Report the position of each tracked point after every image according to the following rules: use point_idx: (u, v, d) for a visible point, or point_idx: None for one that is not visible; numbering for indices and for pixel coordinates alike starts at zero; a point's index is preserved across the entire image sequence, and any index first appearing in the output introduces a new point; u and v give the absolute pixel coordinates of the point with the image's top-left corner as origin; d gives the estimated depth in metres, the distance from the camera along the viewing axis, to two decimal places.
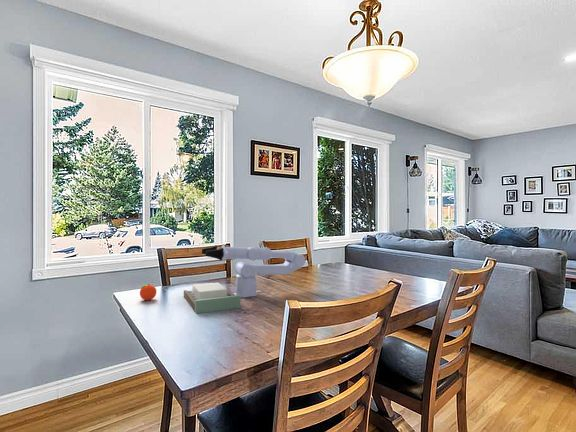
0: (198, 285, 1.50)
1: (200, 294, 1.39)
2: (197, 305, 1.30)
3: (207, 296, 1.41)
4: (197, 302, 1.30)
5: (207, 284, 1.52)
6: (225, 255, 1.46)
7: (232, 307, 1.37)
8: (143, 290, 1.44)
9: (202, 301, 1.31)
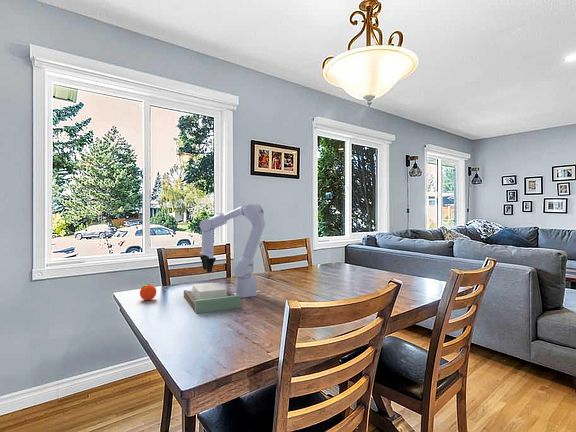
0: (198, 285, 1.50)
1: (200, 294, 1.39)
2: (197, 305, 1.30)
3: (207, 296, 1.41)
4: (197, 302, 1.30)
5: (207, 284, 1.52)
6: (211, 256, 1.57)
7: (232, 307, 1.37)
8: (143, 290, 1.44)
9: (202, 301, 1.31)
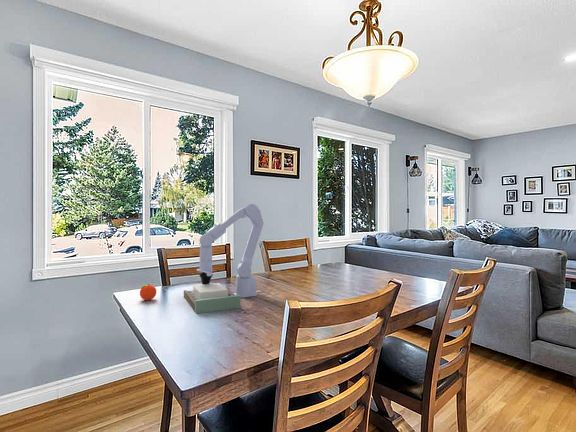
0: (199, 286, 1.49)
1: (201, 295, 1.38)
2: (197, 305, 1.30)
3: (208, 297, 1.39)
4: (197, 302, 1.30)
5: (208, 285, 1.51)
6: (210, 274, 1.48)
7: (232, 307, 1.37)
8: (143, 290, 1.44)
9: (202, 301, 1.31)
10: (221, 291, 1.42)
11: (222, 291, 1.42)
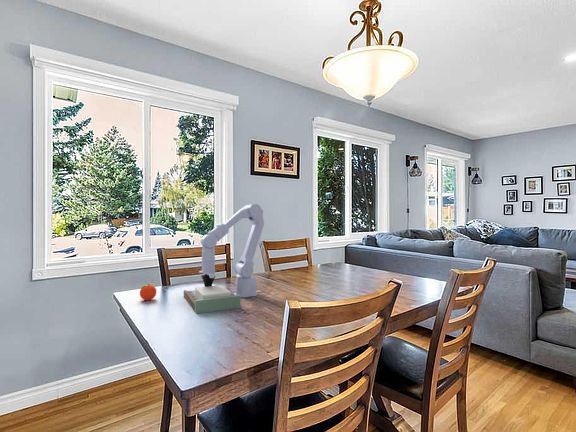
0: (201, 288, 1.45)
1: (203, 298, 1.34)
2: (197, 305, 1.30)
3: None
4: (197, 302, 1.30)
5: (210, 287, 1.47)
6: (212, 276, 1.43)
7: (232, 307, 1.37)
8: (143, 290, 1.44)
9: (202, 301, 1.31)
10: (224, 294, 1.38)
11: (225, 294, 1.38)
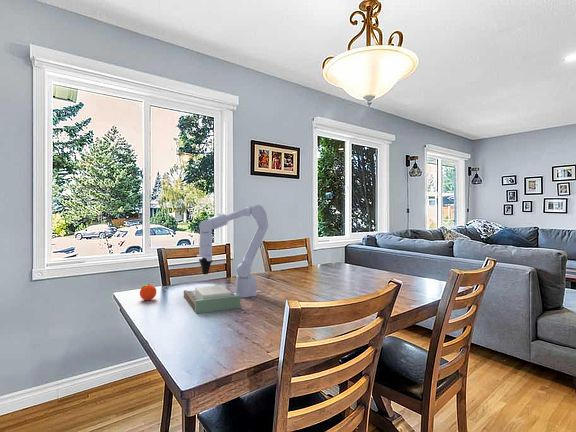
0: (201, 288, 1.45)
1: (203, 298, 1.34)
2: (197, 305, 1.30)
3: None
4: (197, 302, 1.30)
5: (210, 287, 1.47)
6: (209, 259, 1.49)
7: (232, 307, 1.37)
8: (143, 290, 1.44)
9: (202, 301, 1.31)
10: (224, 294, 1.38)
11: (225, 294, 1.38)
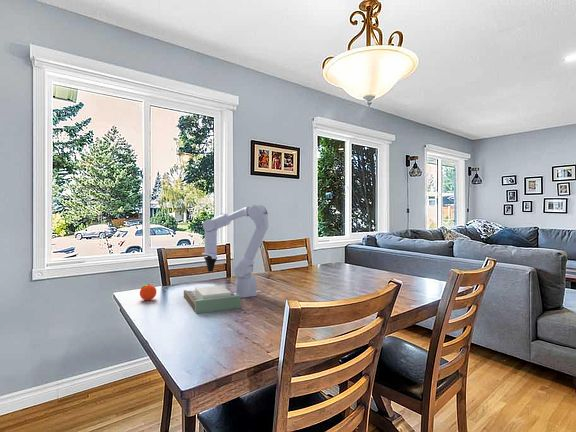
0: (201, 288, 1.45)
1: (203, 298, 1.34)
2: (197, 305, 1.30)
3: None
4: (197, 302, 1.30)
5: (210, 287, 1.47)
6: (214, 257, 1.55)
7: (232, 307, 1.37)
8: (143, 290, 1.44)
9: (202, 301, 1.31)
10: (224, 294, 1.38)
11: (225, 294, 1.38)
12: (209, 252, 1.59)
